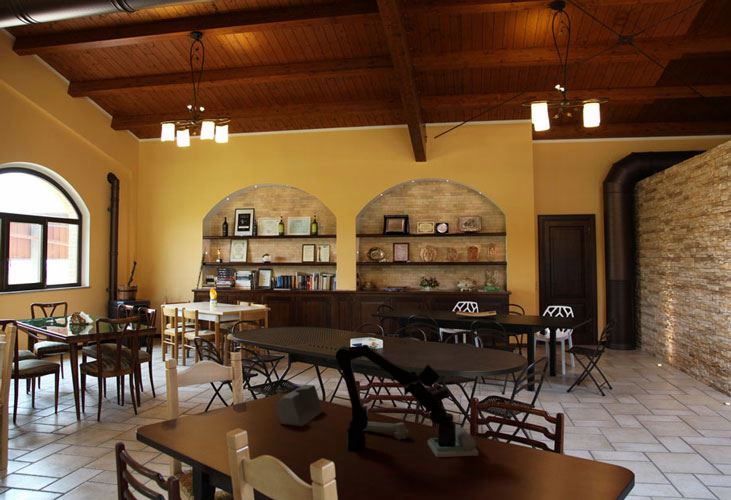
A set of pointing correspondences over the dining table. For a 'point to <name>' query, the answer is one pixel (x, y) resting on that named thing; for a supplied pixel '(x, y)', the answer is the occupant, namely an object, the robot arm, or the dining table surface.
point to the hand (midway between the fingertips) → (450, 424)
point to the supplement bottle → (447, 433)
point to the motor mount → (462, 447)
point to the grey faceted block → (299, 406)
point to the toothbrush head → (389, 428)
